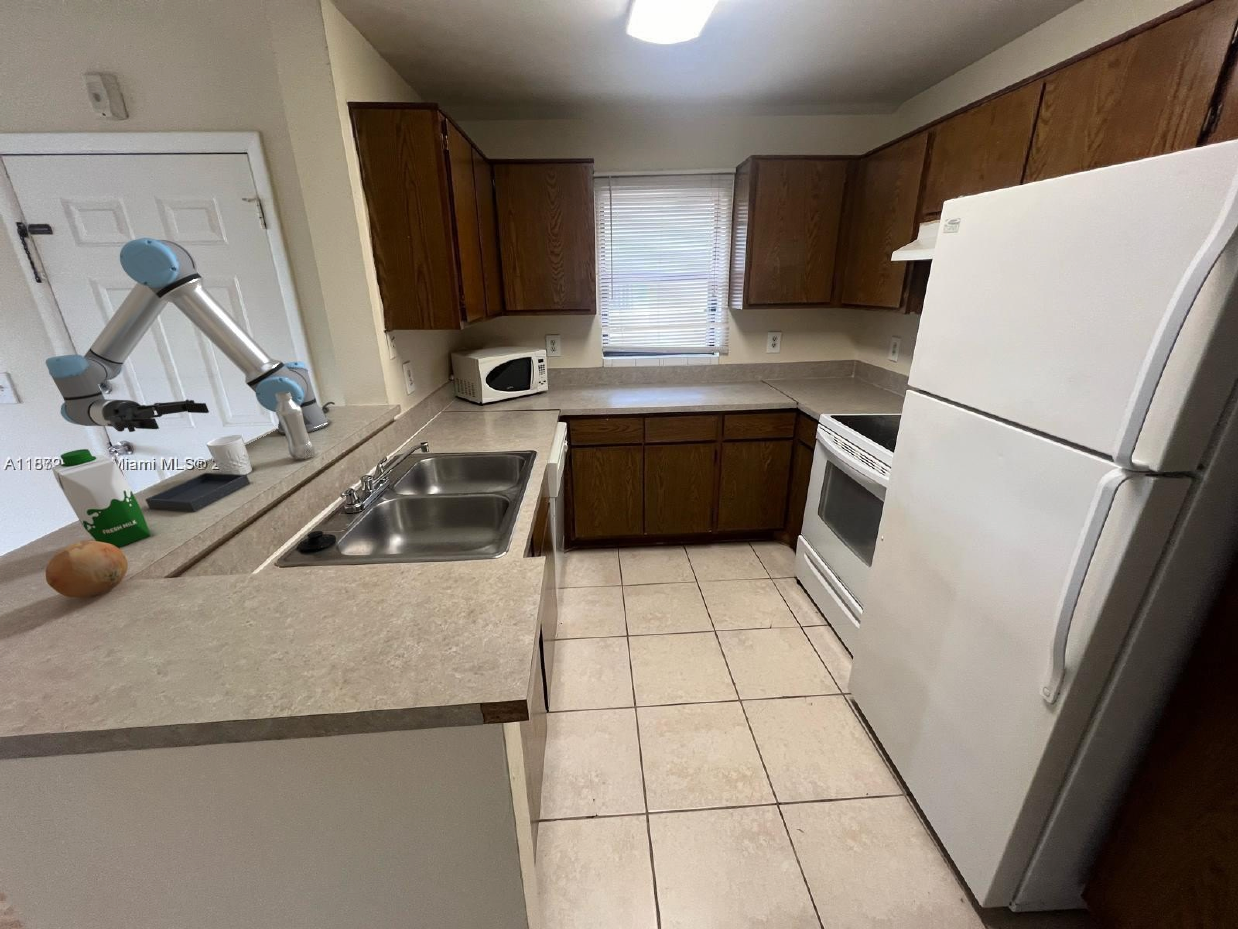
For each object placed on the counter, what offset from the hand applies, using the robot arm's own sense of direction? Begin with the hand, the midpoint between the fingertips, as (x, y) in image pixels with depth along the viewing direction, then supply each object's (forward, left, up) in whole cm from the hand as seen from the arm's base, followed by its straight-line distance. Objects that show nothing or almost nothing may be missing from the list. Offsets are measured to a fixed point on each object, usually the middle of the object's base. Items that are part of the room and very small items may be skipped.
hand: (182, 415), depth 128 cm
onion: (+48, +32, -17) cm, 60 cm away
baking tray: (+13, +14, -17) cm, 25 cm away
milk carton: (+33, +17, -17) cm, 41 cm away
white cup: (0, +11, -17) cm, 20 cm away
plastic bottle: (-12, +22, -17) cm, 30 cm away
